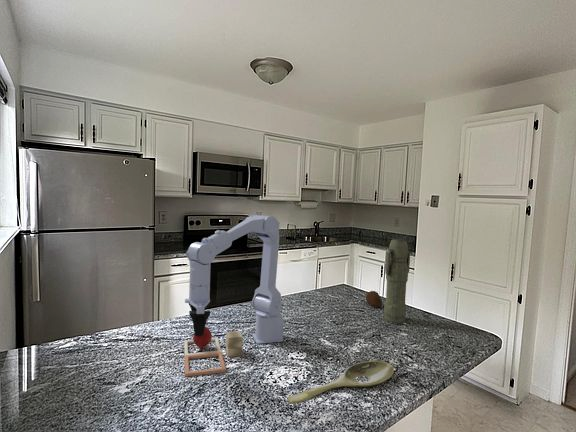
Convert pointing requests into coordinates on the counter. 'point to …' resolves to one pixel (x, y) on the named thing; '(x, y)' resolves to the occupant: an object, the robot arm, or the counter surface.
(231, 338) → the birch block
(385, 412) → the counter surface
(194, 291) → the robot arm
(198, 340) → the onion
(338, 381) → the spoon
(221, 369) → the terracotta frame
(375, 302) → the potato
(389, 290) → the thermos
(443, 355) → the counter surface
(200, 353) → the cream frame
